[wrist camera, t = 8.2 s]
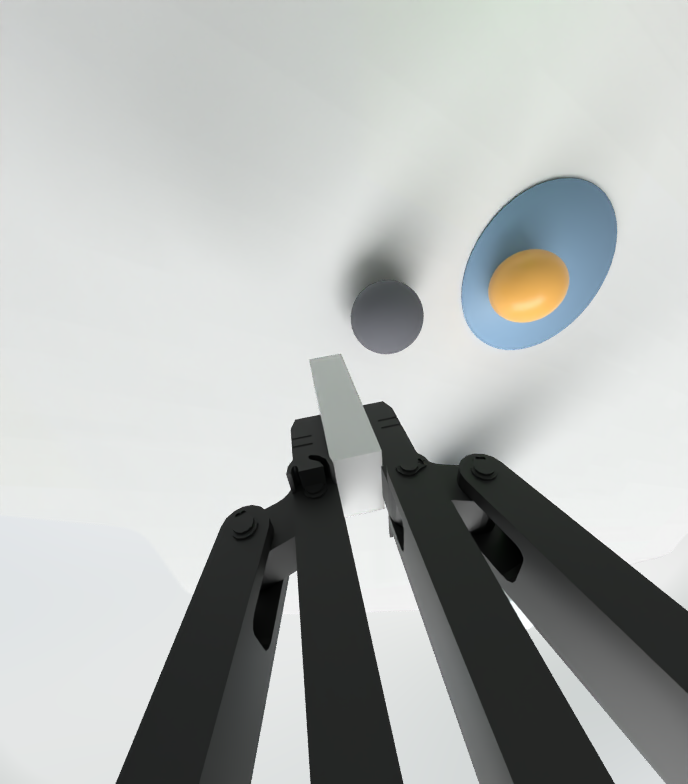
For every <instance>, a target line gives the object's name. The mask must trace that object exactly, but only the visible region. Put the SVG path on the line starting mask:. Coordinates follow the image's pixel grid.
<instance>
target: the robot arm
mask: <svg viewBox="0 0 688 784" xmlns="http://www.w3.org/2000/svg"><path fill="white" fill-rule="evenodd" d="M309 361H310V366H311V371H312V377H313V382H314V387H315V393H316V398H317V403H318V408H319V413H320V415H317V416H312V417H307V418H302V419H297V420H295V422H294V424H293V426H292V428H291V439H292V455H293V461H292V462H291V463H290V465H289V466H288V469H287V474H286V475H287V478H288V481H289V484H290V488H291V490H290V492H289V493H288V495H287V496H286V497H285V498H283V499H282V500H281V501H279V502H278V503H276V504H274V505H272V506H270V507H268V508H266V509H263V508H262V507H260V506H255V505H250V506H245V507H242V508H240V509H238V510H236V511H234V512H233V513H232V514H231V515H230V516H228V517H227V518H226V520H225V521H224V523H223V525H222V526H221V528H220V531H219V533H218V536H217V538H216V540H215V543H214V545H213V548H212V550H211V553H210V555H209V558H208V560H207V562H206V565H205V567H204V570H203V572H202V575H201V577H200V579H199V582H198V584H197V587H196V589H195V592H194V594H193V597H192V599H191V602H190V604H189V606H188V609H187V611H186V614H185V616H184V619H183V621H182V623H181V626H180V628H179V631H178V633H177V635H176V638H175V641H174V643H173V645H172V648H171V650H170V653H169V655H168V657H167V660H166V662H165V665H164V667H163V670H162V672H161V674H160V677H159V679H158V682H157V684H156V687H155V689H154V692H153V694H152V696H151V699H150V701H149V704H148V707H147V709H146V711H145V713H144V716H143V719H142V721H141V723H140V726H139V729H138V731H137V733H136V736H135V738H134V740H133V743H132V745H131V748H130V750H129V752H128V755H127V757H126V760H125V762H124V765H123V767H122V770H121V772H120V774H119V777H118V779H117V782H116V784H251V780H252V774H253V769H254V763H255V758H256V753H257V747H258V741H259V736H260V731H261V726H262V720H263V715H264V709H265V704H266V698H267V692H268V688H269V682H270V677H271V671H272V666H273V660H274V654H275V650H276V644H277V638H278V634H279V628H280V622H281V617H282V612H283V607H284V601H285V596H286V590H287V585H288V580H289V575H290V574H292V573H294V572H295V571H297V576H298V591H299V607H300V622H301V639H302V655H303V669H304V686H305V702H306V718H307V733H308V748H309V764H310V781H311V784H403V780H402V775H401V771H400V766H399V762H398V757H397V753H396V748H395V743H394V739H393V735H392V730H391V725H390V721H389V716H388V712H387V707H386V703H385V698H384V694H383V689H382V685H381V680H380V676H379V671H378V667H377V662H376V658H375V653H374V649H373V644H372V639H371V635H370V630H369V626H368V621H367V617H366V612H365V608H364V603H363V599H362V594H361V590H360V585H359V581H358V576H357V571H356V567H355V562H354V558H353V553H352V549H351V544H350V540H349V535H348V531H347V526H346V522H345V518H347V517H351V516H356V515H360V514H364V513H368V512H373V511H377V510H381V509H385V507H384V501H385V504H386V507H387V510H388V514H389V534H390V537H393V536H394V539H395V541H396V544H397V547H398V550H399V553H400V556H401V559H402V562H403V565H404V567H405V570H406V573H407V576H408V579H409V582H410V585H411V588H412V591H413V593H414V596H415V599H416V602H417V605H418V608H419V611H420V614H421V616H422V619H423V622H424V625H425V628H426V631H427V634H428V637H429V640H430V642H431V645H432V648H433V651H434V654H435V657H436V660H437V663H438V665H439V668H440V671H441V674H442V677H443V680H444V683H445V686H446V689H447V692H448V694H449V697H450V700H451V703H452V706H453V709H454V712H455V714H456V717H457V720H458V723H459V726H460V729H461V732H462V735H463V738H464V741H465V743H466V746H467V749H468V752H469V755H470V758H471V761H472V764H473V767H474V769H475V772H476V775H477V778H478V781H479V784H615V783H614V782H613V780H612V778H611V776H610V775H609V773H608V771H607V769H606V768H605V766H604V764H603V762H602V761H601V759H600V757H599V756H598V754H597V752H596V750H595V749H594V747H593V745H592V743H591V742H590V740H589V738H588V737H587V735H586V733H585V731H584V729H583V728H582V726H581V725H580V723H579V721H578V719H577V717H576V716H575V714H574V712H573V710H572V709H571V707H570V705H569V704H568V702H567V700H566V698H565V697H564V695H563V693H562V691H561V690H560V688H559V686H558V685H557V683H556V681H555V679H554V678H553V676H552V674H551V672H550V671H549V669H548V667H547V665H546V664H545V662H544V660H543V658H542V657H541V655H540V653H539V651H538V650H537V648H536V646H535V645H534V643H533V641H532V639H531V638H530V636H529V634H528V632H527V631H526V629H525V627H524V625H523V624H522V622H521V620H520V618H519V617H518V615H517V613H516V612H515V610H514V608H513V606H512V605H511V603H510V601H509V599H508V598H507V596H506V594H505V592H506V593H507V595H508V596H509V597H510V598H511V599H512V601H513V602H514V603H515V604H516V605H517V607H518V608H519V609H520V610H521V611H522V612H523V614H524V615H525V616H526V617H527V618H528V620H529V621H530V622H531V623H532V624H533V626H534V627H535V628H536V629H537V630H538V632H539V633H540V634H541V635H542V636H543V638H544V639H545V640H546V641H547V642H548V643H549V644H550V646H551V647H552V648H553V649H554V651H555V652H556V653H557V654H558V655H559V657H560V658H561V659H562V660H563V661H564V663H565V664H566V665H567V666H568V667H569V668H570V669H571V671H572V672H573V673H574V674H575V676H576V677H577V678H578V679H579V680H580V682H581V683H582V684H583V685H584V686H585V687H586V689H587V690H588V691H589V692H590V693H591V695H592V696H593V697H594V698H595V699H596V701H597V702H598V703H599V704H600V705H601V707H602V708H603V709H604V710H605V711H606V712H607V714H608V715H609V716H610V717H611V719H612V720H613V721H614V722H615V723H616V724H617V726H618V727H619V728H620V729H621V730H622V732H623V733H624V734H625V735H626V736H627V738H628V739H629V740H630V741H631V742H632V743H633V745H634V746H635V747H636V748H637V749H638V751H639V752H640V753H641V754H642V755H643V757H644V758H645V759H646V760H647V761H648V763H649V764H650V765H651V766H652V767H653V768H654V770H655V771H656V772H657V773H658V775H659V776H660V777H661V778H662V779H663V780H664V782H665V783H666V784H688V611H687V610H686V609H684V608H683V607H682V606H681V605H679V604H678V603H677V602H676V601H674V600H673V599H672V598H671V597H669V596H668V595H667V594H666V593H664V592H663V591H662V590H660V589H659V588H658V587H657V586H655V585H654V584H653V583H652V582H650V581H649V580H648V579H647V578H645V577H644V576H643V575H642V574H641V573H639V572H638V571H637V570H635V569H634V568H633V567H632V566H631V565H629V564H628V563H627V562H626V561H624V560H623V559H622V558H621V557H619V556H618V555H617V554H616V553H614V552H613V551H612V550H611V549H609V548H608V547H607V546H606V545H604V544H603V543H602V542H601V541H599V540H598V539H597V538H596V537H594V536H593V535H592V534H591V533H589V532H588V531H587V530H586V529H584V528H583V527H582V526H581V525H579V524H578V523H577V522H576V521H574V520H573V519H572V518H571V517H569V516H568V515H567V514H566V513H564V512H563V511H562V510H561V509H559V508H558V507H557V506H556V505H554V504H553V503H552V502H551V501H549V500H548V499H547V498H546V497H544V496H543V495H542V494H540V493H539V492H538V491H537V490H535V489H534V488H533V487H532V486H530V485H529V484H528V483H527V482H525V481H524V480H523V479H522V478H520V477H519V476H518V475H517V474H515V473H514V472H513V471H512V470H510V469H509V468H508V467H507V466H505V465H504V464H503V463H502V462H500V461H499V460H497V459H495V458H494V457H491V456H488V455H485V454H472V455H468V456H466V457H465V458H463V459H462V460H461V462H460V464H459V465H441V464H435V463H432V462H429V461H428V460H427V459H426V458H425V457H424V456H422V455H420V454H418V453H417V452H416V451H415V449H414V447H413V445H412V443H411V442H410V440H409V438H408V436H407V434H406V432H405V431H404V429H403V427H402V425H401V424H400V422H399V420H398V418H397V416H396V414H395V413H394V411H393V409H392V408H391V407H390V406H389V405H387V404H386V403H384V402H383V401H382V402H377V403H372V404H367V405H362V403H361V400H360V398H359V395H358V393H357V391H356V388H355V386H354V384H353V381H352V379H351V376H350V374H349V372H348V369H347V367H346V365H345V362H344V360H343V357H342V355H341V354H337V355H331V356H326V357H320V358H315V359H309ZM503 590H504V591H505V592H504V591H503Z"/></svg>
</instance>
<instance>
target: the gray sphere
mask: <svg viewBox="0 0 688 784" xmlns="http://www.w3.org/2000/svg"><path fill="white" fill-rule="evenodd" d="M423 317H424V315H423V308H422V304H421V301H420V299H419V297H418V296H417V294H416V293H415V292H414V291H413V290H412V289H411V288H410V287H409V286H407V285H405V284H403V283H401V282H398V281H394V280H383V281H378V282H375V283H373V284H371V285H369V286H368V287H366V288H365V289H364V290H363V291H362V292H361V293H360V294H359V295H358V297H357V298H356V300H355V302H354V305H353V308H352V312H351V325H352V329H353V332H354V334H355V336H356V338H357V339H358V341H359V342H360V343H361V344H362V345H363V346H364V347H366V348H367V349H369V350H371V351H373V352H376V353H380V354H392V353H396V352H399V351H402V350H403V349H405V348H407V347H408V346H409V345H411V344H412V343H413V342H414V340H415V339H416V338H417V336H418V335H419V333H420V331H421V328H422V324H423Z"/></svg>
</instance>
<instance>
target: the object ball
mask: <svg viewBox="0 0 688 784" xmlns="http://www.w3.org/2000/svg"><path fill="white" fill-rule="evenodd" d="M568 287H569V272H568V269H567V267H566V265H565V263H564V262H563V260H562V259H561V258H560V257H558V256H557V255H556V254H554V253H552V252H550V251H547V250H543V249H528V250H524V251H520V252H518V253H515V254H513V255H511V256H510V257H508V258H507V259H505V260H504V261H503V262H502V263H501V264H500V265H499V266H498V267H497V269H496V270H495V271H494V273H493V275H492V277H491V279H490V282H489V287H488V297H489V301H490V304H491V306H492V308H493V309H494V311H495V312H496V313H497V314H498V315H499V316H501V317H502V318H504V319H506V320H509V321H512V322H519V323H526V322H532V321H536V320H539V319H541V318H543V317H545V316H547V315H548V314H550V313H551V312H553V311H554V310H555V309H556V308H557V307H558V306H559V305H560V304H561V302H562V301H563V299H564V298H565V296H566V293H567V290H568Z"/></svg>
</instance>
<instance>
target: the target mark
mask: <svg viewBox="0 0 688 784" xmlns="http://www.w3.org/2000/svg"><path fill="white" fill-rule="evenodd" d="M616 239H617V223H616V217H615V212H614V209H613V207H612V204H611V202H610V200H609V199H608V197H607V196H606V194H605V193H604V192H603V191H602V190H601V189H600V188H599V187H597V186H596V185H594V184H592V183H591V182H588V181H585V180H582V179H575V178H562V179H555V180H551V181H547V182H544V183H541V184H539V185H536V186H534V187H532V188H530V189H528V190H527V191H525V192H523V193H522V194H520V195H519V196H517V197H516V198H515V199H513V200H512V201H511V202H510V203H509V204H507V205H506V206H505V207H504V208H503V209H502V210H501V211H500V212H499V213H498V214H497V215H496V216H495V217H494V218H493V220H492V221H491V222H490V223H489V225H488V226H487V227H486V229H485V230H484V232H483V233H482V235H481V236H480V238H479V240H478V241H477V243H476V245H475V247H474V249H473V251H472V253H471V256H470V258H469V261H468V263H467V266H466V270H465V274H464V278H463V284H462V308H463V312H464V316H465V319H466V321H467V324H468V326H469V327H470V329H471V331H472V332H473V333H474V334H475V335H476V337H477V338H479V339H480V340H481V341H483V342H484V343H486V344H488V345H490V346H492V347H495V348H498V349H504V350H516V349H523V348H527V347H531V346H534V345H537V344H539V343H542V342H544V341H546V340H548V339H550V338H551V337H553V336H555V335H556V334H558V333H559V332H561V331H562V330H563V329H565V328H566V327H567V326H568V325H569V324H571V323H572V322H573V321H574V320H575V319H576V318H577V317H578V316H579V315H580V314H581V313H582V312H583V311H584V309H585V308H586V307H587V306H588V305H589V303H590V302H591V301H592V299H593V298H594V297H595V295H596V294H597V292H598V290H599V289H600V287H601V285H602V283H603V281H604V279H605V277H606V275H607V273H608V271H609V268H610V265H611V263H612V259H613V256H614V252H615V246H616ZM528 249H543V250H547V251H550V252H552V253H554V254H556V255H557V256H558V257H560V258H561V259H562V260H563V262H564V263H565V265H566V267H567V269H568V272H569V287H568V290H567V293H566V296H565V298H564V299H563V301H562V302H561V304H560V305H559V306H558V307H557V308H556V309H555V310H554V311H553V312H551V313H550V314H548V315H547V316H545V317H543V318H541V319H539V320H536V321H532V322H526V323H519V322H512V321H509V320H506V319H504V318H502V317H501V316H499V315H498V314H497V313H496V312H495V311H494V309H493V308H492V306H491V304H490V301H489V297H488V287H489V282H490V279H491V277H492V275H493V273H494V271H495V270H496V269H497V267H498V266H499V265H500V264H501V263H502V262H503V261H504V260H505V259H507V258H508V257H510V256H511V255H513V254H515V253H518V252H520V251H524V250H528Z"/></svg>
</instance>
